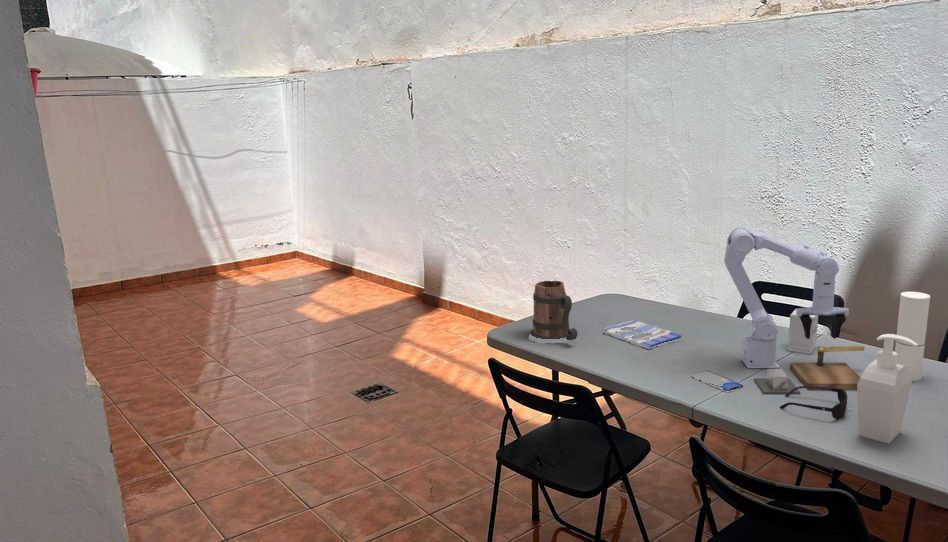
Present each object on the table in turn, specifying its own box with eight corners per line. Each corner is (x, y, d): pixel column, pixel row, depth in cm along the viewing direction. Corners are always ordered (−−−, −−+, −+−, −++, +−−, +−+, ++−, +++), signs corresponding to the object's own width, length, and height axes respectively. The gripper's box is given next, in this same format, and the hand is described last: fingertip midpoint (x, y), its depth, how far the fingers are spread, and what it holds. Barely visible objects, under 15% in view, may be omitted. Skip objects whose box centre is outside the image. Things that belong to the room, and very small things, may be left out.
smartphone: (707, 372, 216) (707, 368, 216) (745, 388, 203) (745, 385, 203) (688, 377, 213) (688, 374, 213) (726, 394, 200) (726, 391, 200)
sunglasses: (843, 425, 179) (845, 407, 178) (777, 413, 187) (778, 396, 186) (848, 404, 190) (849, 387, 189) (785, 394, 198) (786, 378, 197)
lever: (818, 352, 209) (819, 349, 209) (815, 350, 211) (815, 346, 211) (865, 351, 209) (865, 347, 208) (861, 348, 211) (861, 345, 211)
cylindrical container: (919, 373, 207) (928, 292, 201) (922, 382, 200) (932, 299, 194) (891, 370, 210) (899, 290, 204) (893, 379, 203) (902, 297, 197)
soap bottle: (898, 450, 165) (909, 347, 158) (852, 437, 172) (861, 338, 166) (914, 432, 173) (925, 333, 166) (870, 420, 180) (879, 325, 174)
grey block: (772, 389, 199) (773, 376, 198) (766, 381, 205) (767, 368, 204) (787, 389, 199) (788, 376, 198) (780, 381, 204) (781, 368, 203)
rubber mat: (763, 394, 198) (763, 392, 198) (753, 380, 208) (754, 378, 208) (800, 394, 197) (800, 392, 197) (789, 380, 206) (789, 378, 206)
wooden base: (807, 389, 199) (809, 370, 198) (789, 368, 215) (791, 350, 213) (867, 390, 197) (868, 370, 196) (844, 368, 213) (846, 349, 211)
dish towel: (635, 324, 264) (635, 317, 263) (683, 341, 245) (683, 333, 244) (601, 334, 256) (601, 327, 255) (647, 352, 236) (648, 344, 235)
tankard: (518, 334, 258) (517, 282, 253) (556, 325, 266) (555, 275, 261) (554, 353, 238) (553, 296, 233) (594, 343, 245) (594, 288, 241)
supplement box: (811, 354, 225) (814, 317, 222) (787, 350, 229) (789, 314, 226) (816, 347, 231) (819, 311, 228) (792, 344, 235) (795, 308, 232)
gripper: (802, 299, 207) (799, 342, 210) (854, 298, 205) (850, 341, 209) (795, 292, 214) (792, 334, 217) (844, 291, 212) (841, 334, 215)
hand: (820, 337), depth 213 cm, fingers open, 7 cm apart
